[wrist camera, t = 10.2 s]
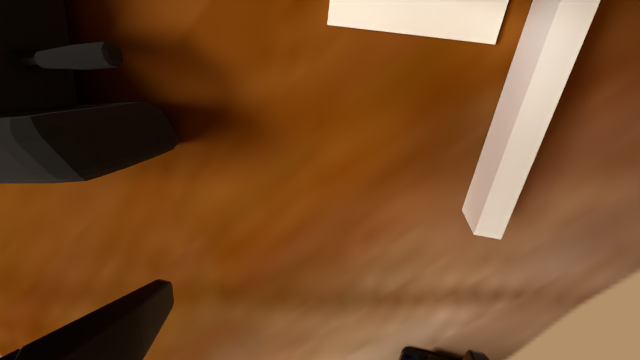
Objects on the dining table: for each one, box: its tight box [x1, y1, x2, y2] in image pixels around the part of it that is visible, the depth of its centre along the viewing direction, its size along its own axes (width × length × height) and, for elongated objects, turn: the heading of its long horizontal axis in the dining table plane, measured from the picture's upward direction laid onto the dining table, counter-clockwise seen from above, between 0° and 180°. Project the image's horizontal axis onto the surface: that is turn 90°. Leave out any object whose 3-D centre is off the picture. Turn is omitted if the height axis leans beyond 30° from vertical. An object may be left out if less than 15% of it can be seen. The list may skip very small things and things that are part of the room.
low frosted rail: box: [462, 0, 601, 239], centre depth 16 cm, size 15×2×3 cm, turn 174°
